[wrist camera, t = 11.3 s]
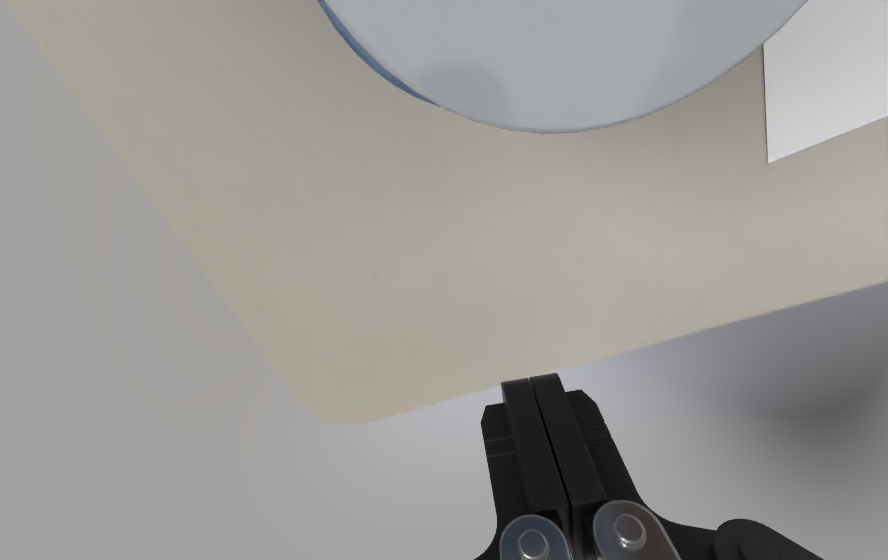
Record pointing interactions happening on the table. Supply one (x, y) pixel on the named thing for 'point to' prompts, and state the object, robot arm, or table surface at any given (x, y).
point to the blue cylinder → (555, 53)
